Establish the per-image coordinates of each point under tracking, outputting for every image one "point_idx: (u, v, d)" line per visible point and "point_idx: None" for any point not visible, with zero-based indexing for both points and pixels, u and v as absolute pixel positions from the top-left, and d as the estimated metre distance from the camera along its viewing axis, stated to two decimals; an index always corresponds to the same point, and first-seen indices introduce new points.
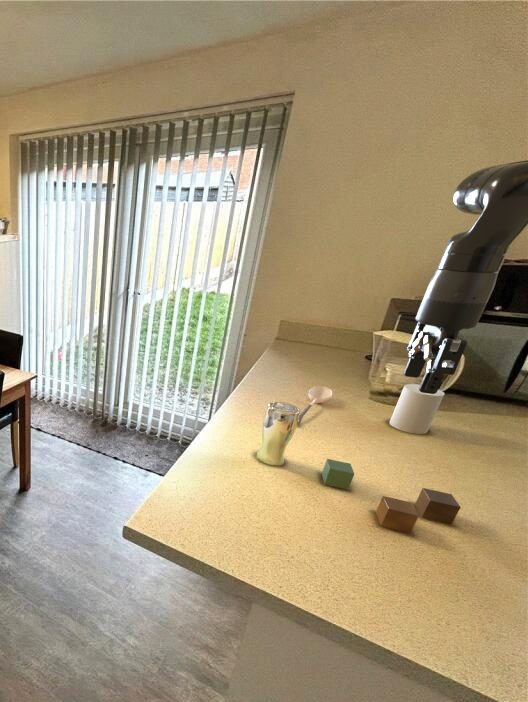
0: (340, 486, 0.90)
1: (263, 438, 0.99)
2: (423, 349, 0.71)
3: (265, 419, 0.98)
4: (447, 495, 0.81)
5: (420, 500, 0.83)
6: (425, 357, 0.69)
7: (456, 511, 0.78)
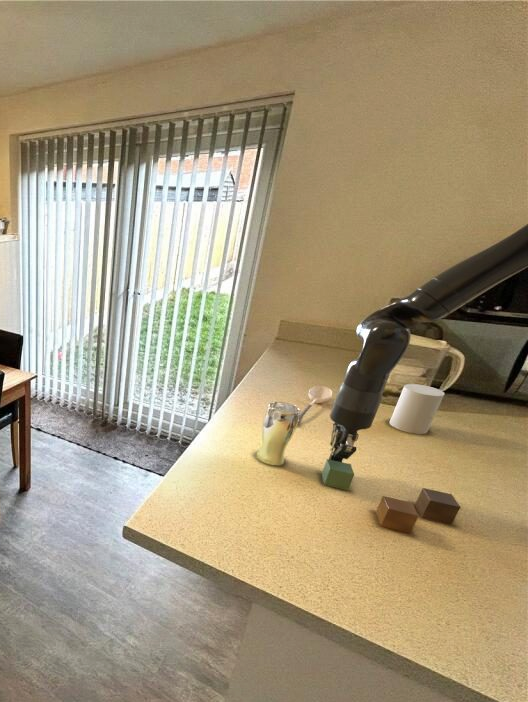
0: (340, 486, 0.90)
1: (263, 438, 0.99)
2: None
3: (265, 419, 0.98)
4: (447, 495, 0.81)
5: (420, 500, 0.83)
6: (332, 444, 0.93)
7: (456, 511, 0.78)
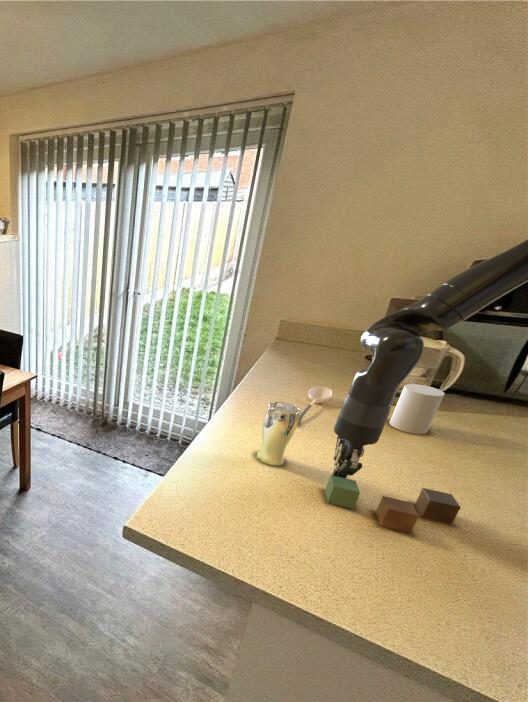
0: (345, 505, 0.84)
1: (263, 438, 0.99)
2: None
3: (265, 419, 0.98)
4: (447, 495, 0.81)
5: (420, 500, 0.83)
6: (336, 459, 0.87)
7: (456, 511, 0.78)
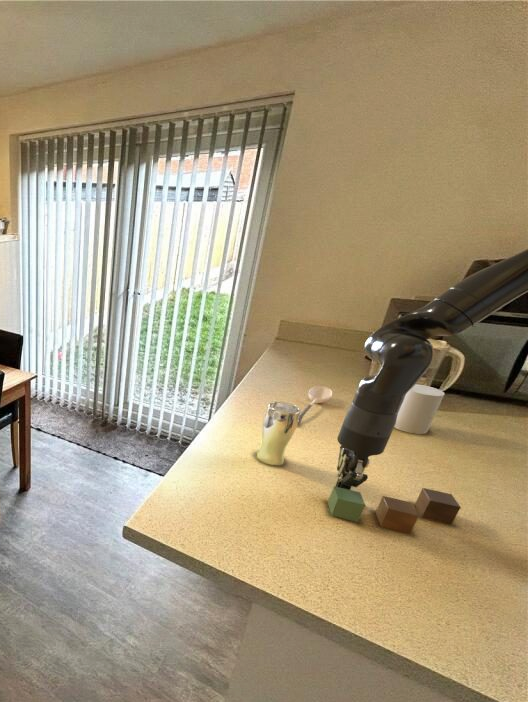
0: (349, 518, 0.81)
1: (263, 438, 0.99)
2: None
3: (265, 419, 0.98)
4: (447, 495, 0.81)
5: (420, 500, 0.83)
6: (340, 470, 0.84)
7: (456, 511, 0.78)
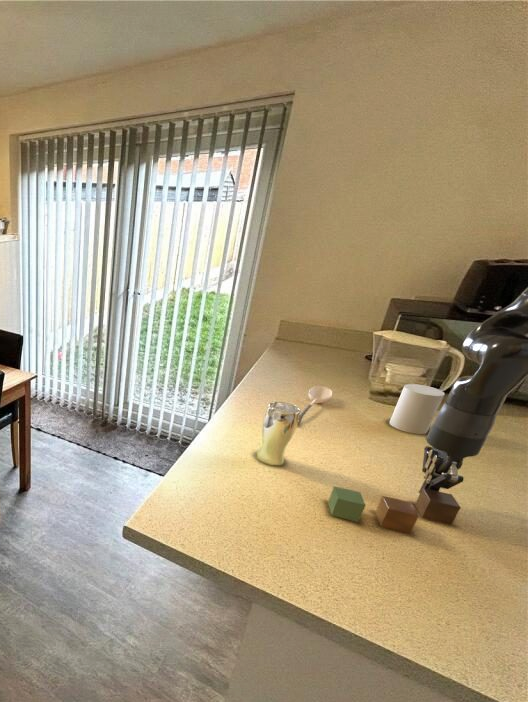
0: (349, 518, 0.81)
1: (263, 438, 0.99)
2: None
3: (265, 419, 0.98)
4: (447, 495, 0.81)
5: (420, 500, 0.83)
6: (429, 471, 0.83)
7: (456, 511, 0.78)
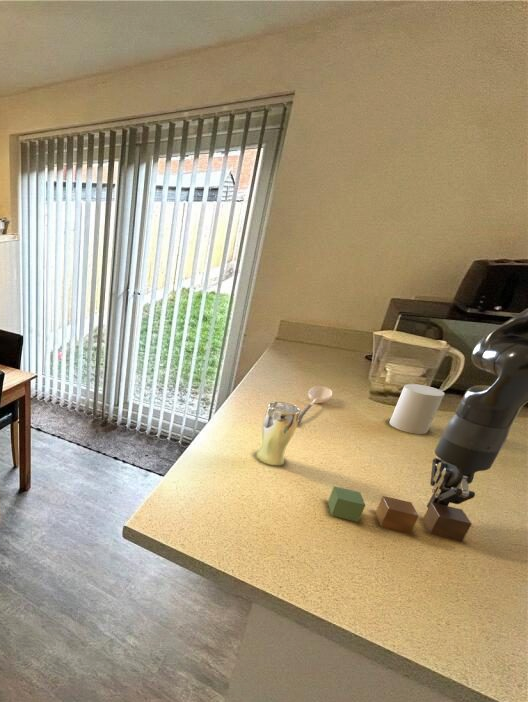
0: (349, 518, 0.81)
1: (263, 438, 0.99)
2: None
3: (265, 419, 0.98)
4: (457, 510, 0.76)
5: (428, 515, 0.79)
6: (437, 485, 0.79)
7: (467, 528, 0.74)
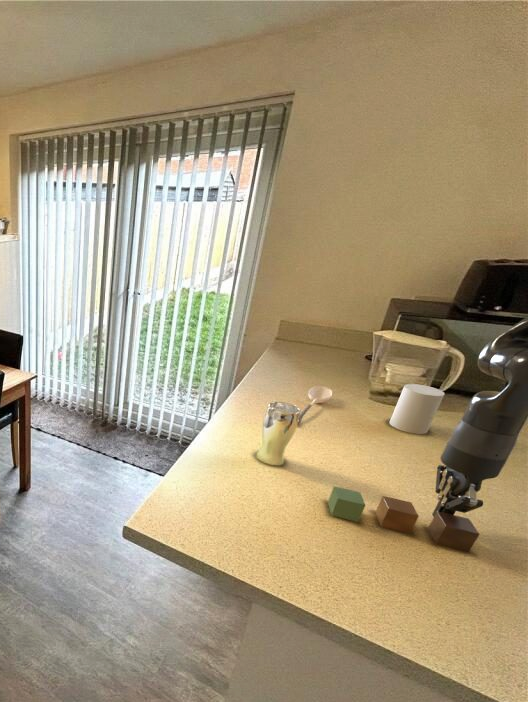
0: (349, 518, 0.81)
1: (263, 438, 0.99)
2: None
3: (265, 419, 0.98)
4: (464, 520, 0.74)
5: (434, 524, 0.76)
6: (443, 493, 0.77)
7: (475, 538, 0.72)
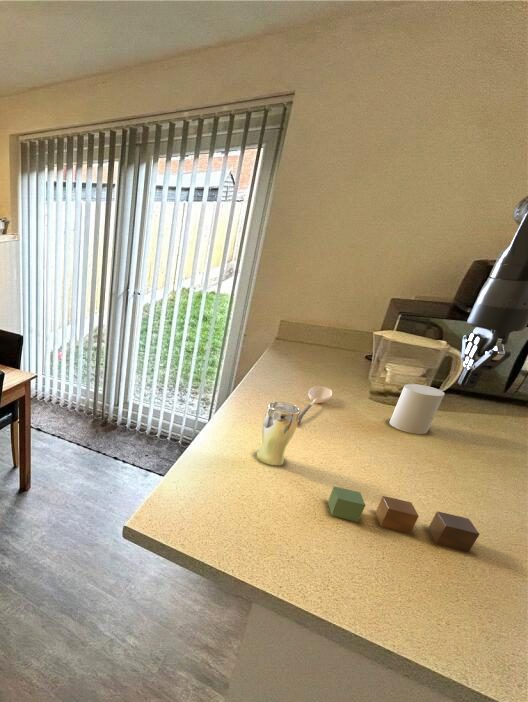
0: (349, 518, 0.81)
1: (263, 438, 0.99)
2: None
3: (265, 419, 0.98)
4: (464, 520, 0.74)
5: (434, 524, 0.76)
6: (470, 356, 0.79)
7: (475, 538, 0.72)
